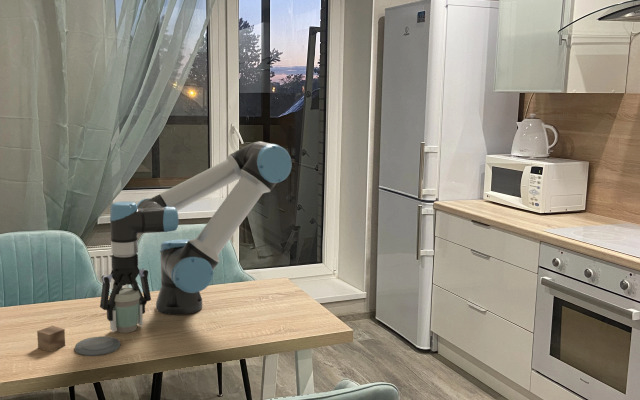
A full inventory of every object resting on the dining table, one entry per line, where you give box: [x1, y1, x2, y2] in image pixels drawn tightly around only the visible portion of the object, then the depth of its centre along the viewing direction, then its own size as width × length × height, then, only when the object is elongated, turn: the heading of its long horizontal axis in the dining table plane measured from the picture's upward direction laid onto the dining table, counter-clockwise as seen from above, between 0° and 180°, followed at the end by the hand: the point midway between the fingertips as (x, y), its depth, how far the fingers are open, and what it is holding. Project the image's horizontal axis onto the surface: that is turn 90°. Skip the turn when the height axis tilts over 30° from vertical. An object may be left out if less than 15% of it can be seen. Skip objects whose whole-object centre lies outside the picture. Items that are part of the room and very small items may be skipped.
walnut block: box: [36, 325, 66, 353], centre depth 177 cm, size 5×5×5 cm
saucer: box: [74, 335, 121, 357], centre depth 178 cm, size 12×12×1 cm
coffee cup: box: [113, 287, 141, 334], centre depth 191 cm, size 8×8×12 cm
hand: (126, 327), depth 192 cm, fingers closed on coffee cup, 8 cm apart
